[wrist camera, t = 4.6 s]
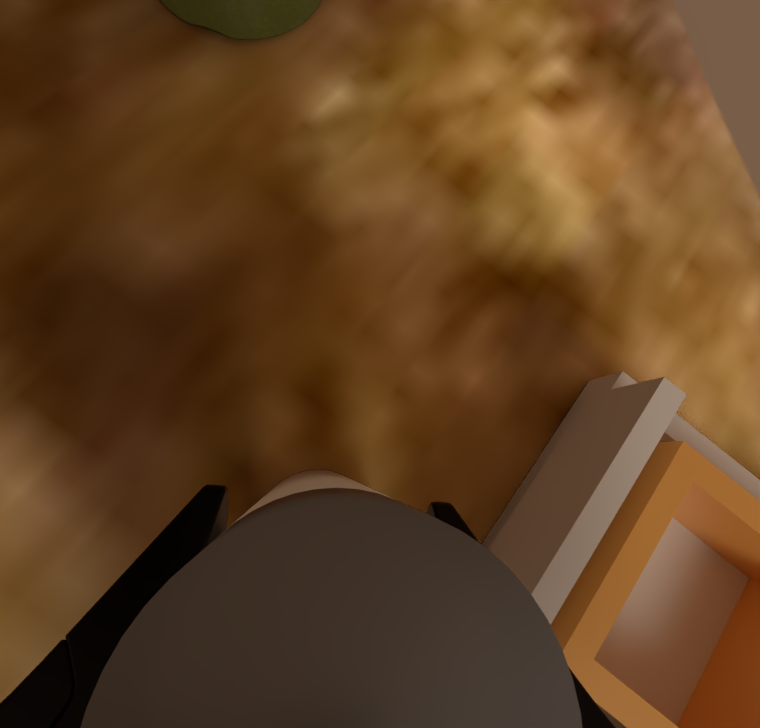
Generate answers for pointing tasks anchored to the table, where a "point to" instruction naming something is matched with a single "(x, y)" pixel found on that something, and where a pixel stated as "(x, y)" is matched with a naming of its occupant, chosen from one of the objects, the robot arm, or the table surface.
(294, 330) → the table surface
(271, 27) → the plant pot
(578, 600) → the socket box
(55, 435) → the table surface
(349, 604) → the plug
